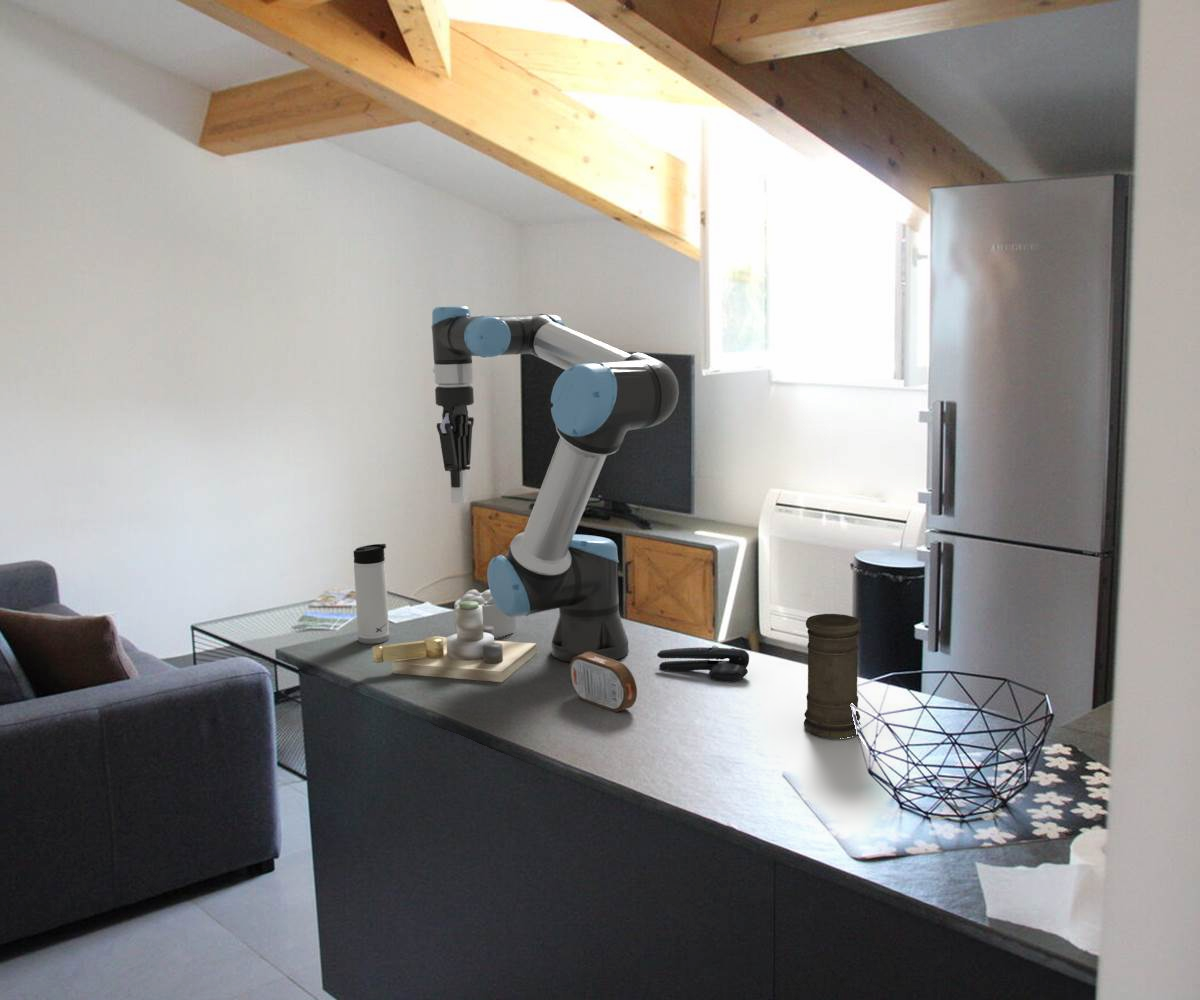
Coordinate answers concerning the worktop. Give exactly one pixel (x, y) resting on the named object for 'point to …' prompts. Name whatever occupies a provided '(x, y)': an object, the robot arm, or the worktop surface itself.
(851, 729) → the container
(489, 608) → the paw-shaped mold
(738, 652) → the can opener
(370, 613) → the travel mug
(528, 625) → the worktop surface
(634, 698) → the tin
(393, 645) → the brass ball lever
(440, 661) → the base
